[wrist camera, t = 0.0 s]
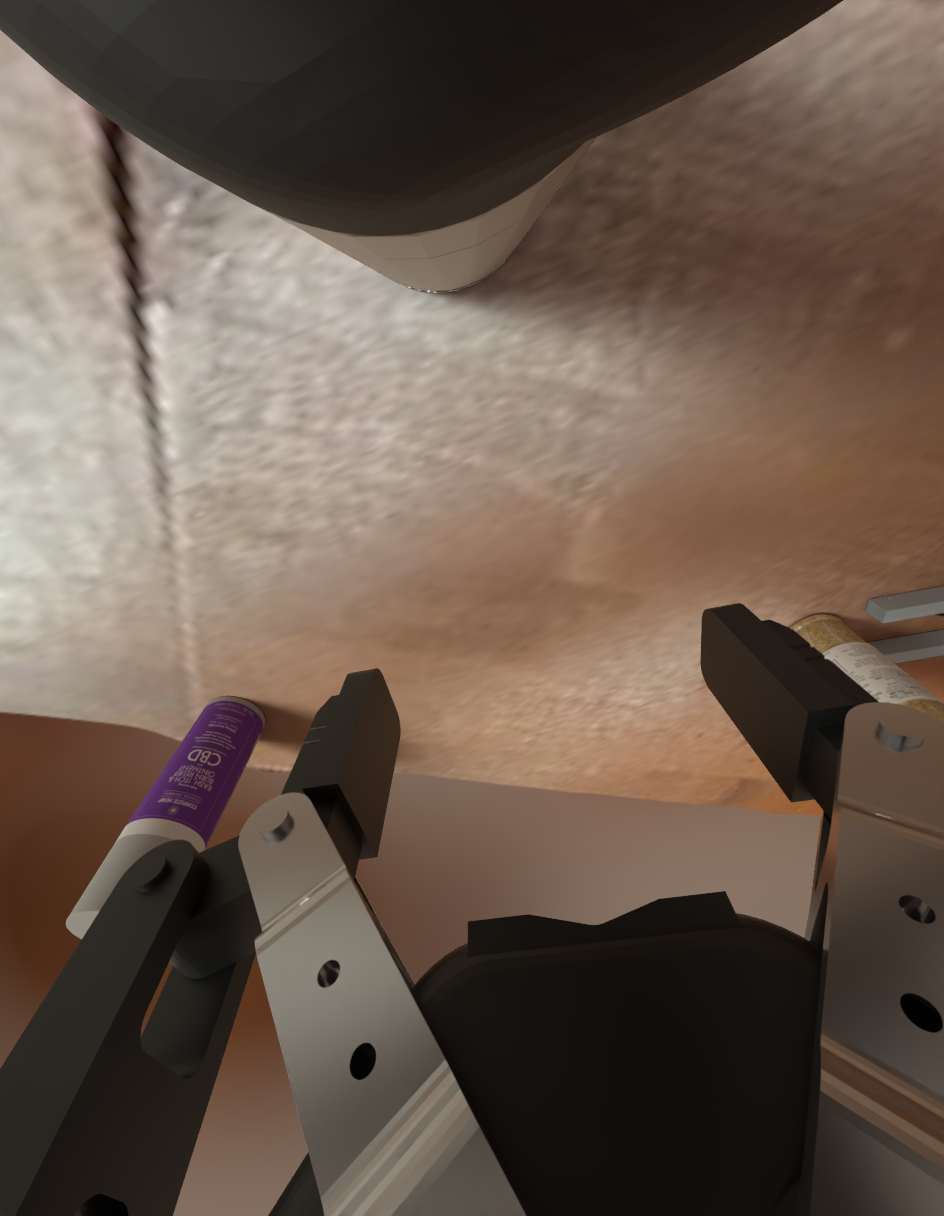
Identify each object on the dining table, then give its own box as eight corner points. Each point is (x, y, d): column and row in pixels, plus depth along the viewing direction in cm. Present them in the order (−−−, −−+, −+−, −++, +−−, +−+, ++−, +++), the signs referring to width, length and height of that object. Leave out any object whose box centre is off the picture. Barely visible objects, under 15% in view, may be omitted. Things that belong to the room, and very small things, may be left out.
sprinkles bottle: (806, 669, 34) (976, 842, 23) (761, 649, 33) (916, 820, 22) (857, 624, 32) (1072, 791, 21) (810, 601, 31) (1011, 764, 20)
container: (255, 694, 35) (136, 908, 22) (273, 735, 37) (175, 948, 25) (195, 697, 35) (43, 912, 22) (217, 738, 37) (92, 952, 25)
